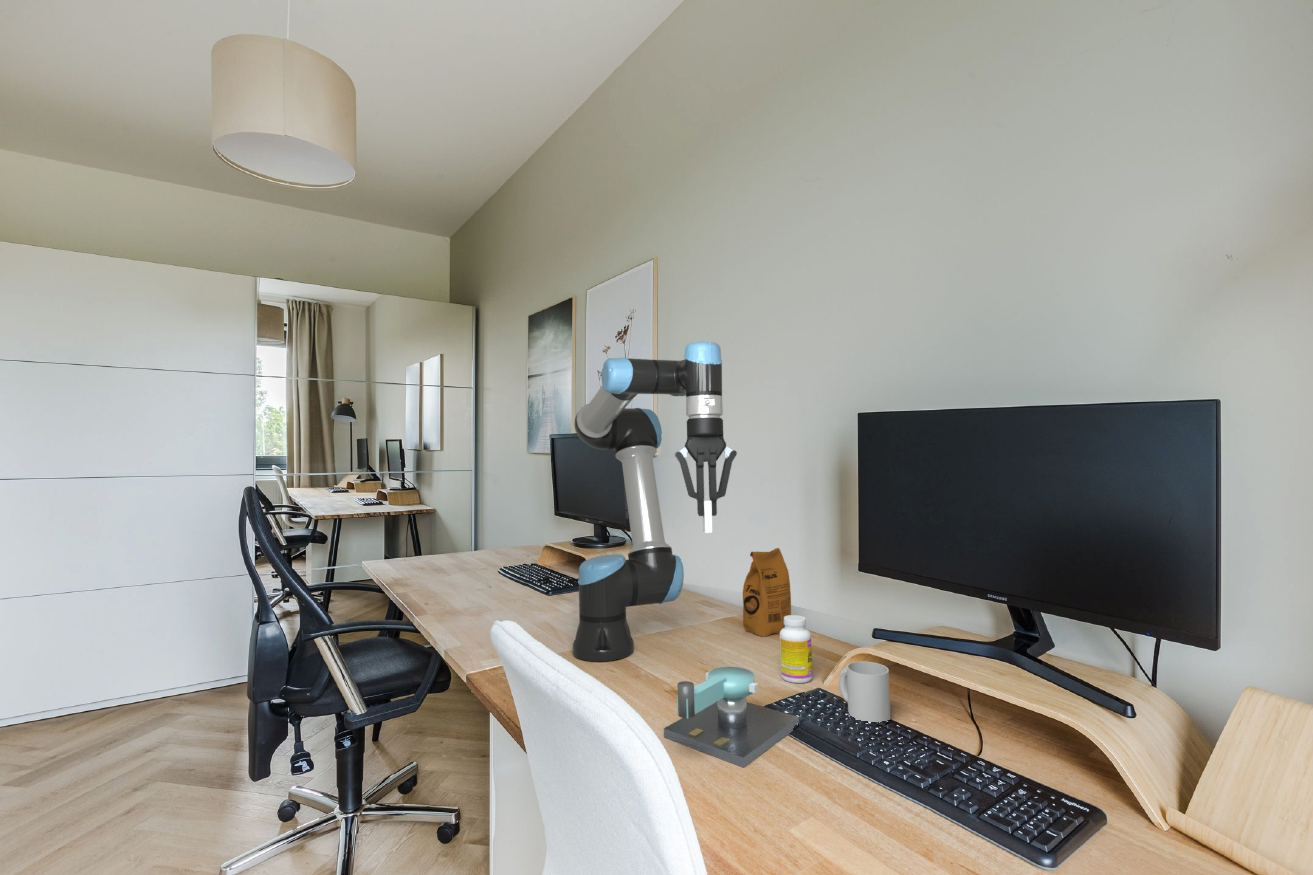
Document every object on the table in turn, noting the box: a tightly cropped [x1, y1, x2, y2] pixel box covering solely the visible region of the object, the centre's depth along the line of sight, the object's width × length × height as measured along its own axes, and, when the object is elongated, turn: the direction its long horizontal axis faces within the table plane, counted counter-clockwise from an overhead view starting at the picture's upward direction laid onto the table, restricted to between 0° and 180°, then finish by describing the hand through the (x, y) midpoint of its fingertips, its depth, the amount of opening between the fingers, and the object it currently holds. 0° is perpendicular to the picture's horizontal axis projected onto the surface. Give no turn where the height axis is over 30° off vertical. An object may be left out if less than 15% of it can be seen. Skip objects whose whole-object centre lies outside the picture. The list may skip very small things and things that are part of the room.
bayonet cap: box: [676, 666, 759, 719], centre depth 98 cm, size 18×10×5 cm, turn 140°
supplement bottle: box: [779, 614, 813, 684], centre depth 126 cm, size 7×7×13 cm
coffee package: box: [742, 547, 792, 638], centre depth 162 cm, size 10×12×22 cm
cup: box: [838, 660, 891, 723], centre depth 107 cm, size 7×10×9 cm
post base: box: [663, 696, 800, 768], centre depth 102 cm, size 16×18×7 cm
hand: (707, 531), depth 121 cm, fingers closed
